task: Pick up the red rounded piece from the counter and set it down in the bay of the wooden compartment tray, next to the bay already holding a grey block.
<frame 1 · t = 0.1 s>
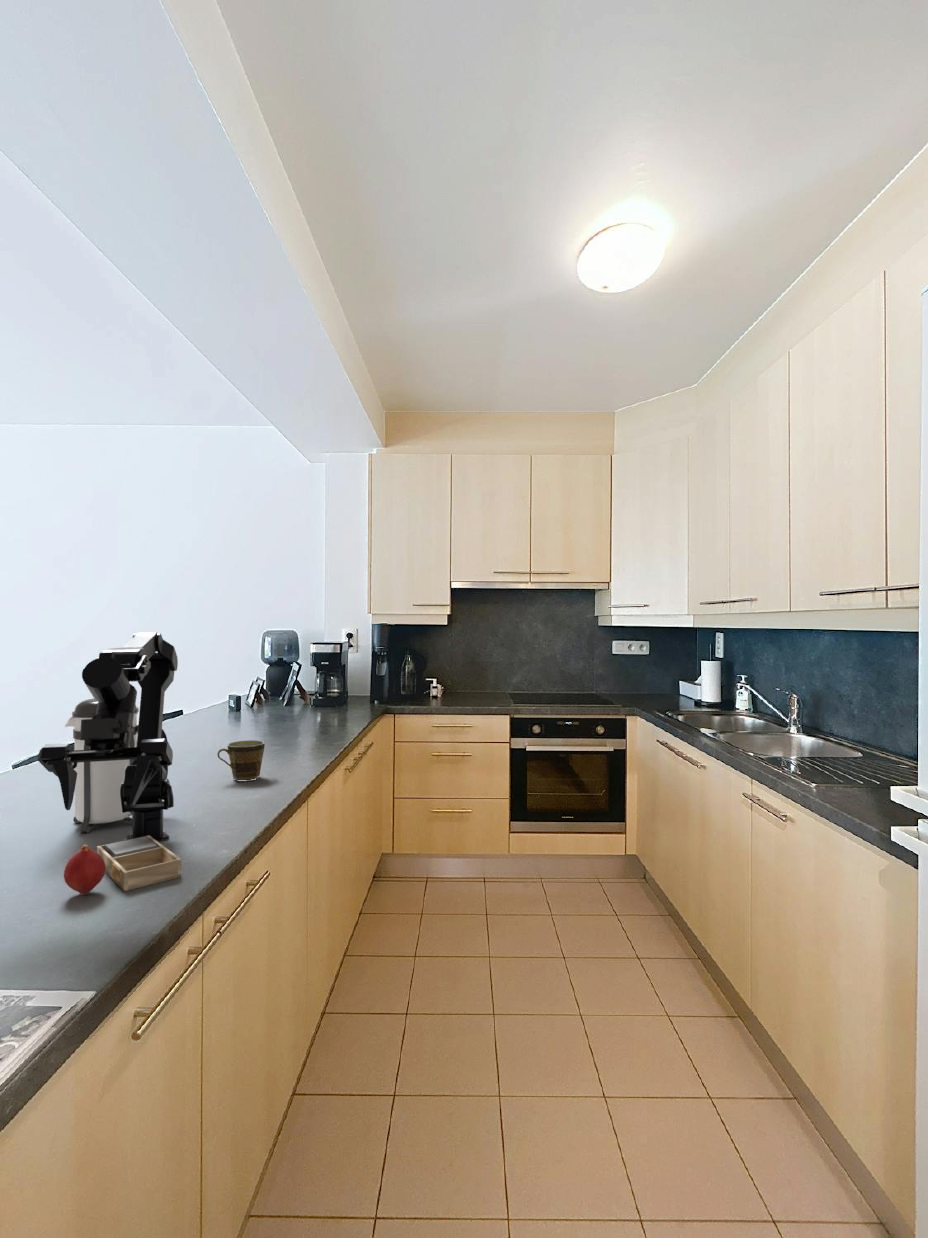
hand: (99, 807, 103), 15 cm above the worktop, tool tilted 30°, fingers open, 9 cm apart
red rounded piece: (85, 895, 106), on the worktop
wooden compartment tray: (138, 869, 116), on the worktop
coffee press: (112, 822, 145), on the worktop
ceramic cup: (241, 780, 183), on the worktop
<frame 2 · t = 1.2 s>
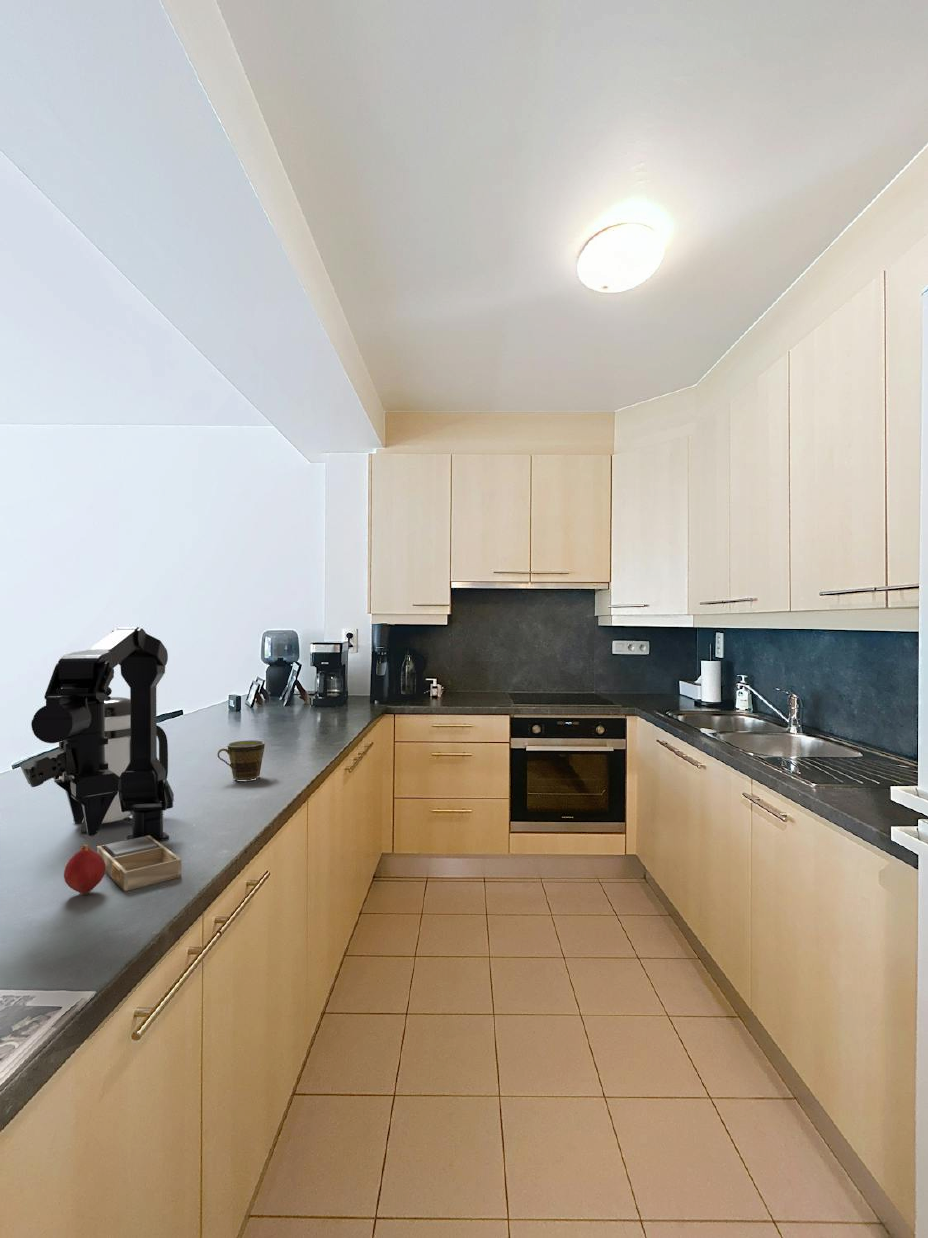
hand: (85, 828, 106), 10 cm above the worktop, tool pointing down, fingers open, 9 cm apart
nothing on the worktop moved.
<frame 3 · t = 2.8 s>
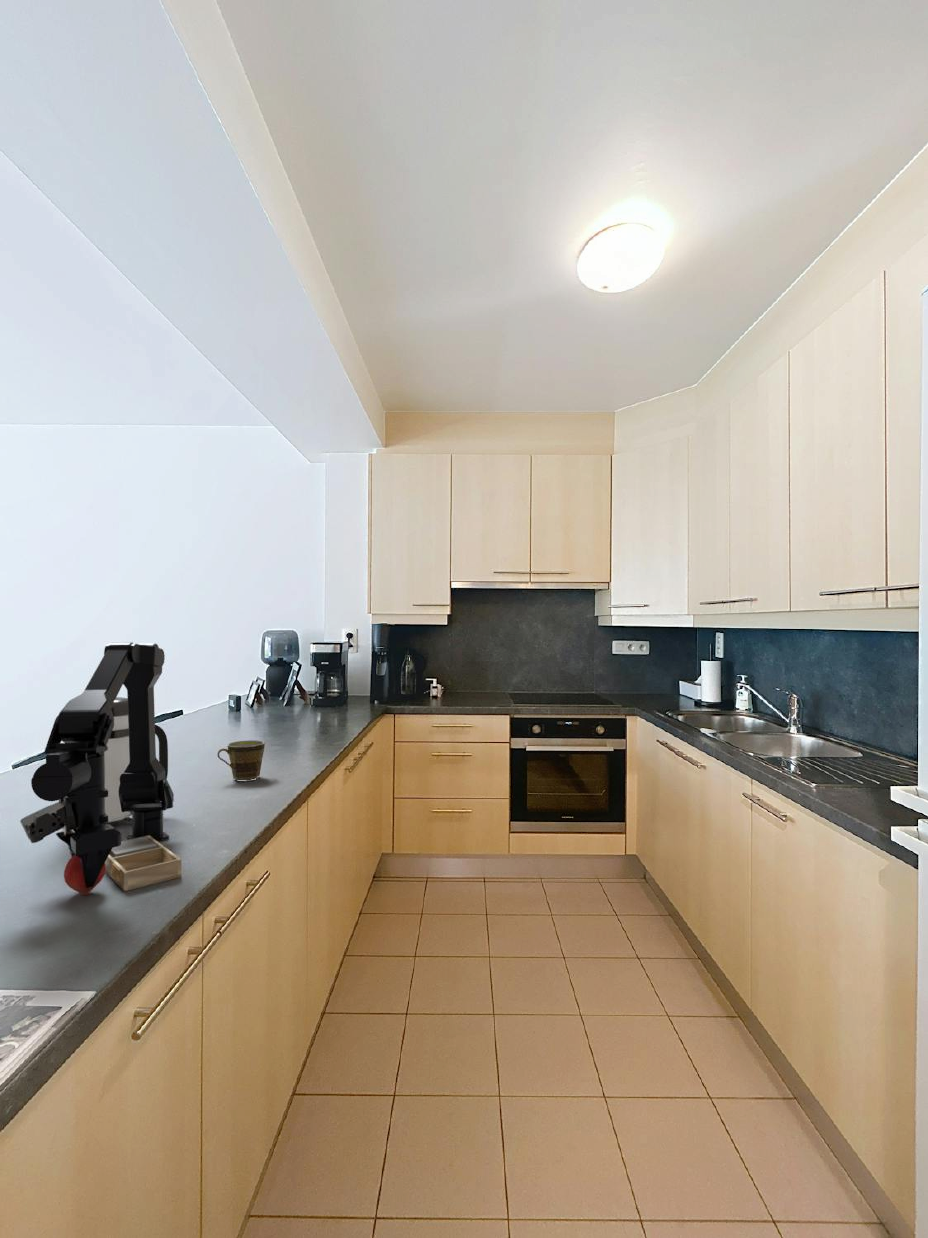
hand: (85, 881, 106), 2 cm above the worktop, tool pointing down, fingers closed on red rounded piece, 6 cm apart
red rounded piece: (84, 895, 106), on the worktop, touching gripper
everything else where it was.
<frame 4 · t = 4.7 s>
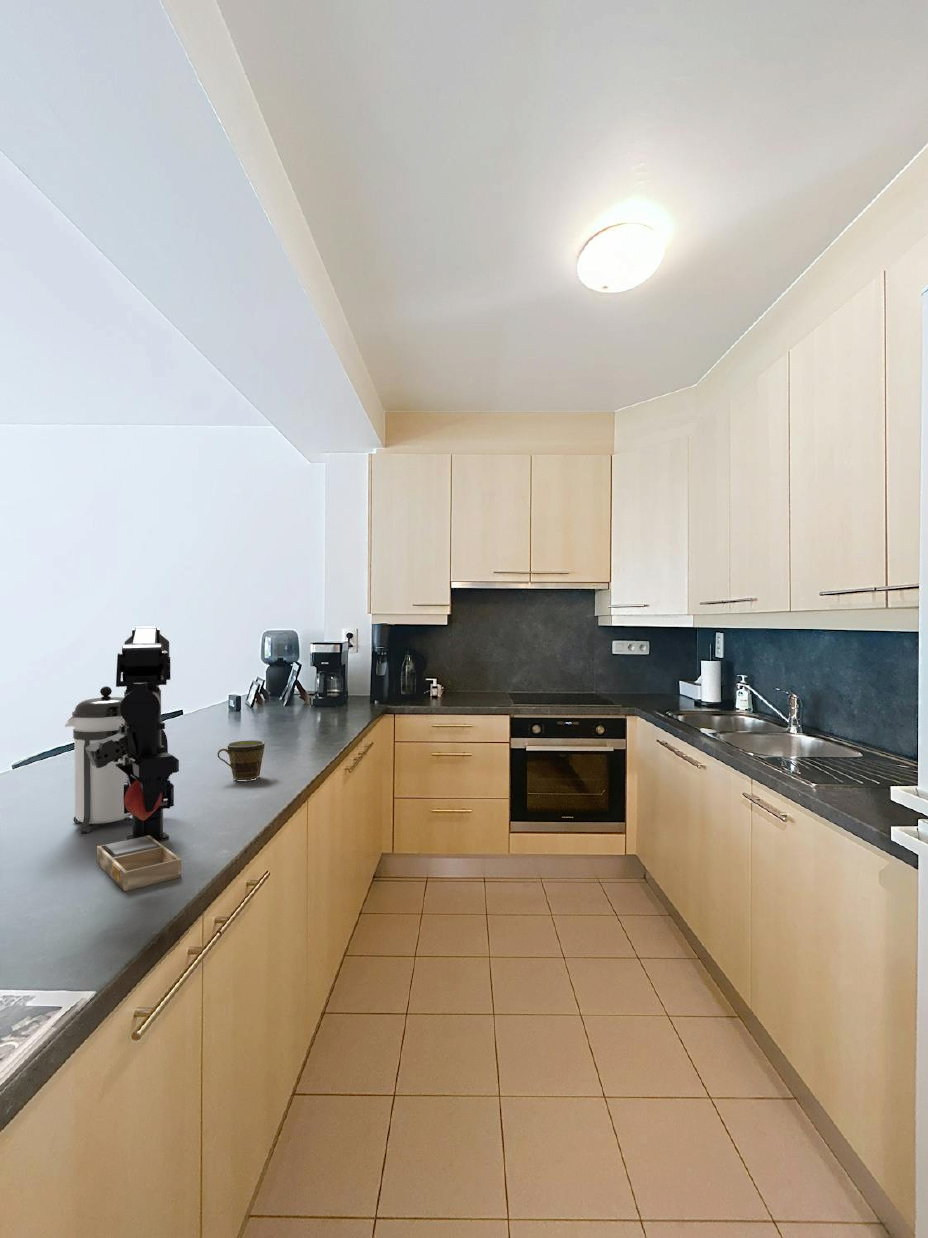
hand: (143, 808, 113), 12 cm above the worktop, tool pointing down, fingers closed on red rounded piece, 6 cm apart
red rounded piece: (143, 821, 113), point 10 cm above the worktop, touching gripper
everything else where it was.
when the fingers open (4 cm above the worktop, at t = 6.9 s): red rounded piece drops 2 cm, resting on wooden compartment tray.
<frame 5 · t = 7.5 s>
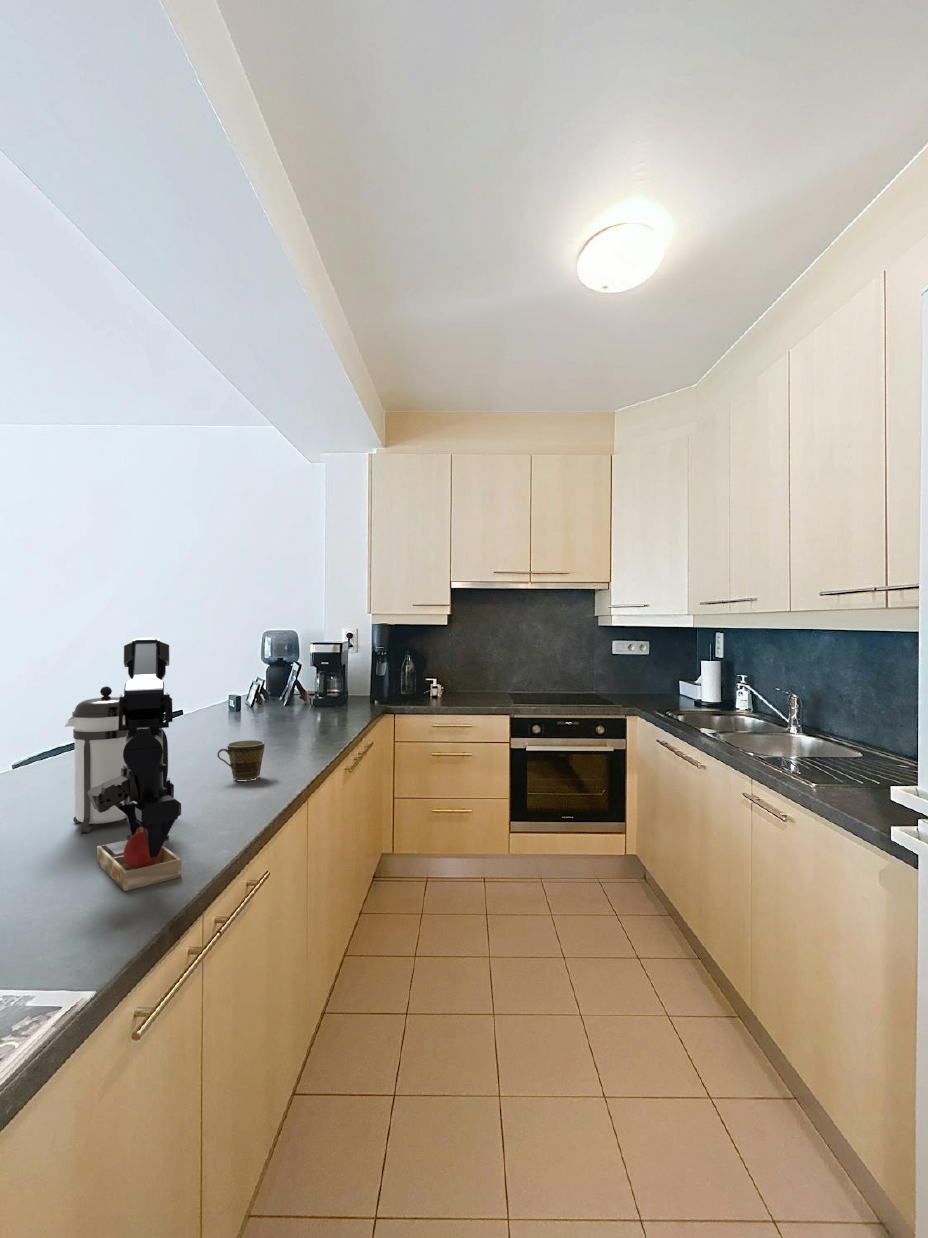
hand: (145, 850, 113), 4 cm above the worktop, tool pointing down, fingers open, 9 cm apart
red rounded piece: (145, 873, 113), resting on wooden compartment tray
everything else where it was.
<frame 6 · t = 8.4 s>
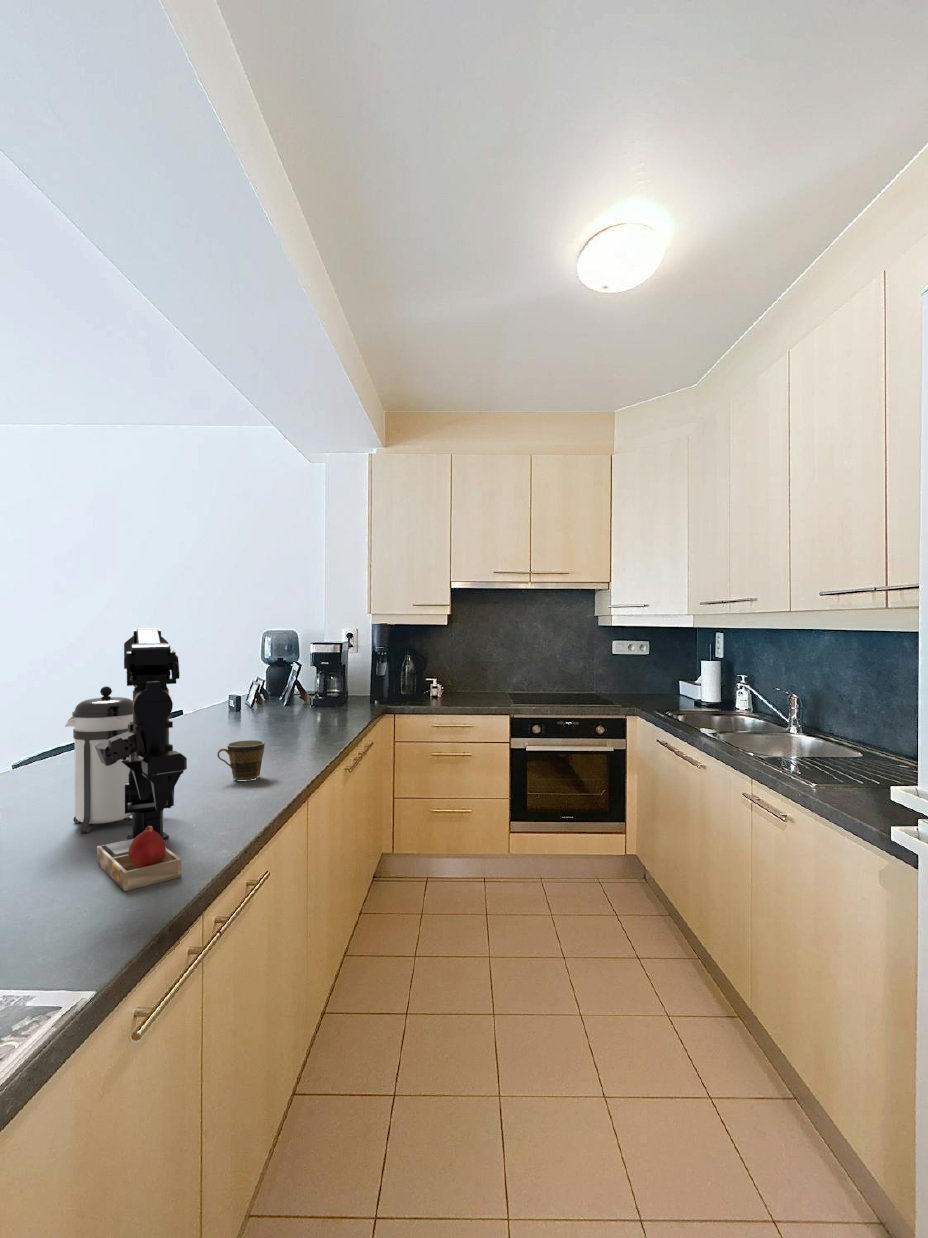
hand: (151, 805, 115), 12 cm above the worktop, tool pointing down, fingers open, 9 cm apart
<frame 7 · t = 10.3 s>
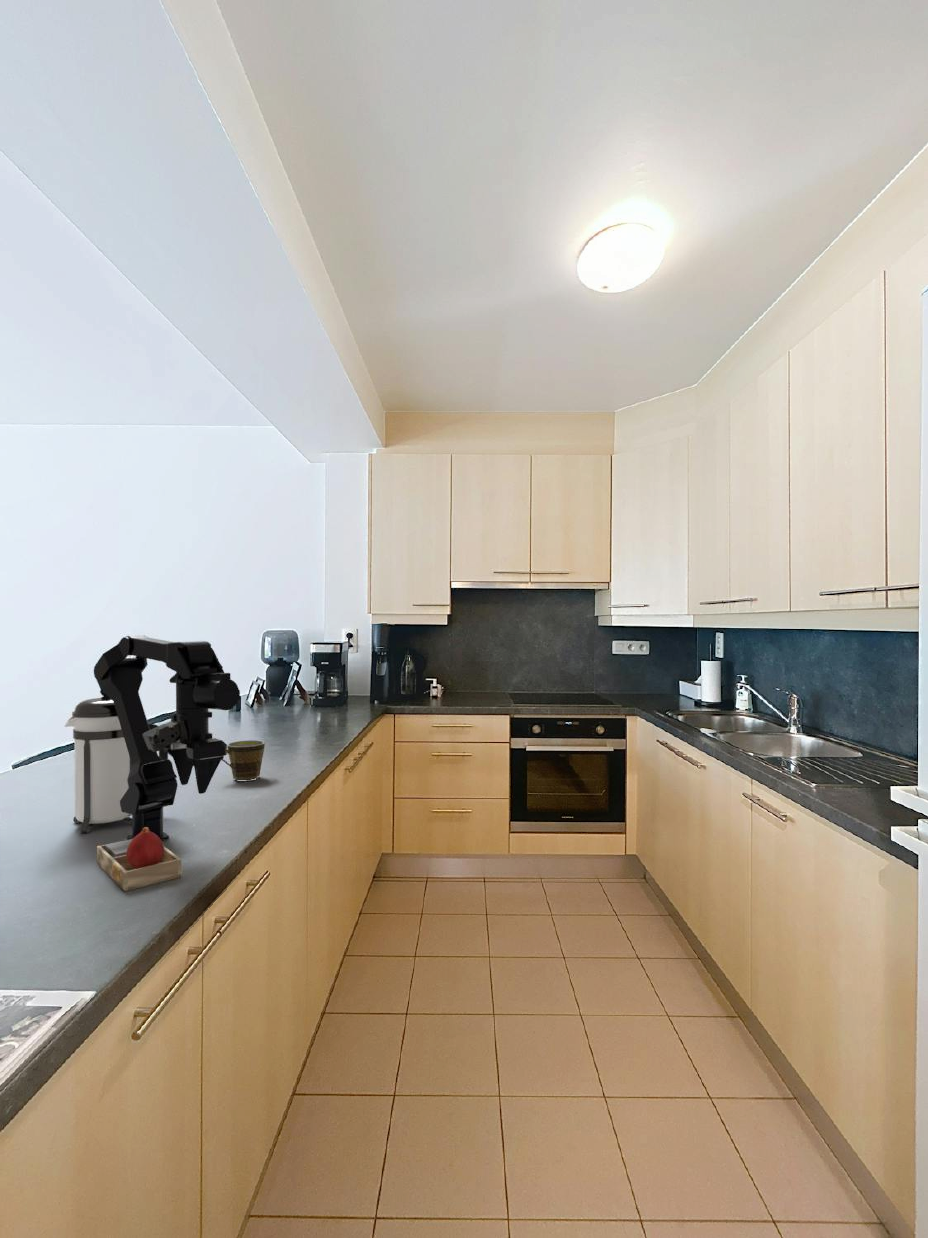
hand: (192, 788, 125), 12 cm above the worktop, tool pointing down, fingers open, 9 cm apart
nothing on the worktop moved.
at the end: red rounded piece inside the target area on the wooden compartment tray (0.0 cm from its centre), point 0.3 cm above the wooden compartment tray's base; the gripper is holding nothing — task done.
